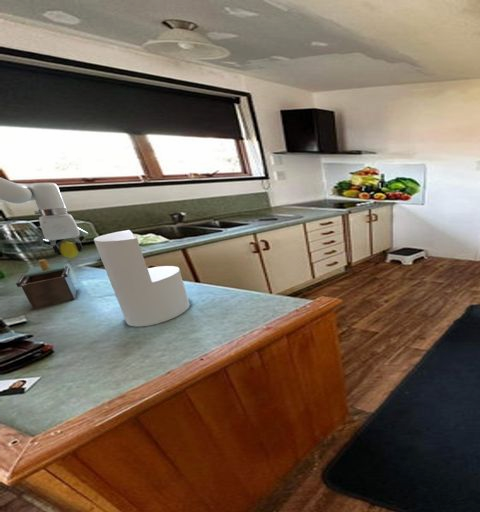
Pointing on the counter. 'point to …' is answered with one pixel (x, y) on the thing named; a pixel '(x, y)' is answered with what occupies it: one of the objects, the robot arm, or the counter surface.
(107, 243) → the white stepped drum
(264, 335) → the counter surface
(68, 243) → the lemon
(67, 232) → the robot arm
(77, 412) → the counter surface
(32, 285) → the storage box
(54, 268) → the slide door
